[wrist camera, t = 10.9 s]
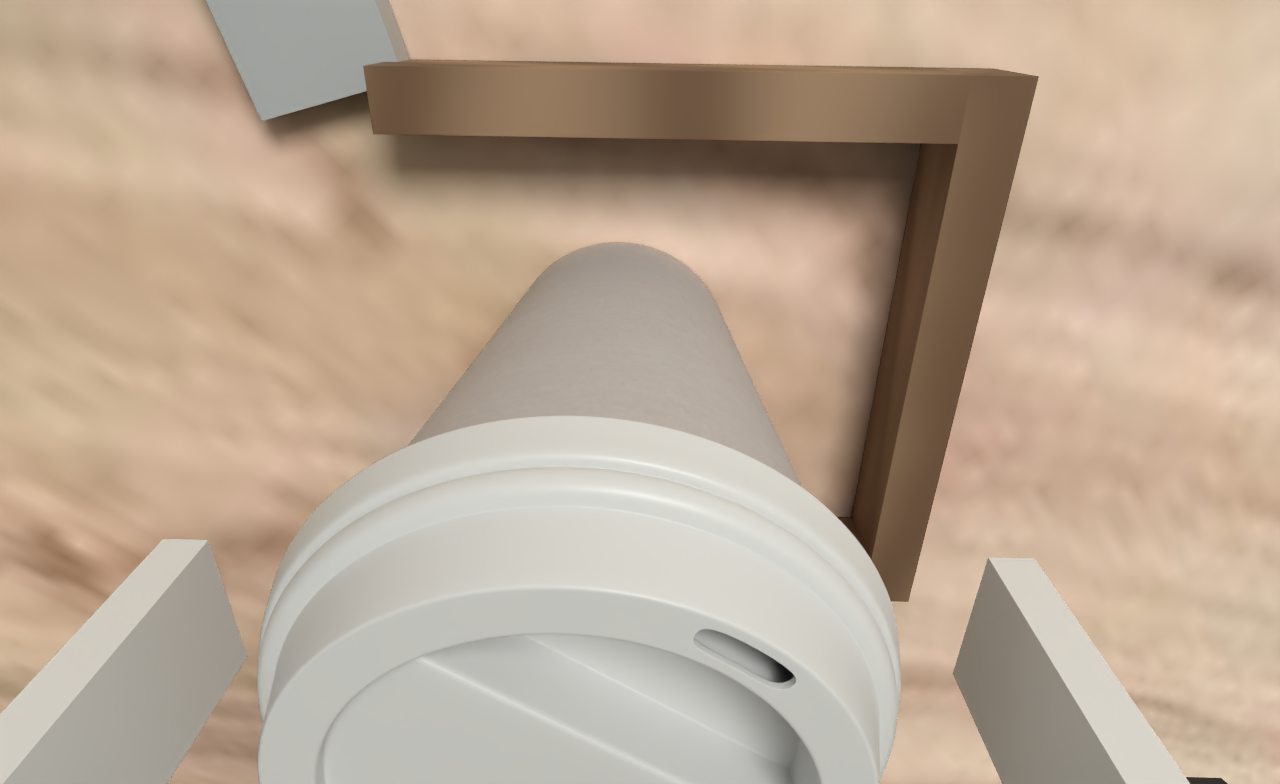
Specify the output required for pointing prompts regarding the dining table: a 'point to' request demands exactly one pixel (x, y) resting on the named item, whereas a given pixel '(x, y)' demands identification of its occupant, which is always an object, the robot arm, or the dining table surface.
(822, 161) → the dining table surface
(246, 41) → the slate tile
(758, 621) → the coffee cup
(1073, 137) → the dining table surface
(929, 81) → the bracket
